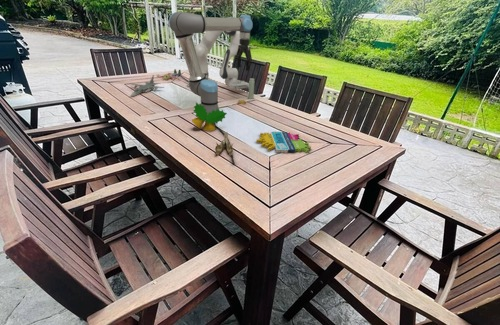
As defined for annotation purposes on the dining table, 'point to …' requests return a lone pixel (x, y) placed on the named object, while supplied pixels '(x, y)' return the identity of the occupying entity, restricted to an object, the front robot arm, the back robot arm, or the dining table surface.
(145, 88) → the airplane
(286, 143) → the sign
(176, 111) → the dining table surface
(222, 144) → the jawbone
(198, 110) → the ornament
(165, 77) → the toy
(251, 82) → the jar
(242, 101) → the lid
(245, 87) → the back robot arm
